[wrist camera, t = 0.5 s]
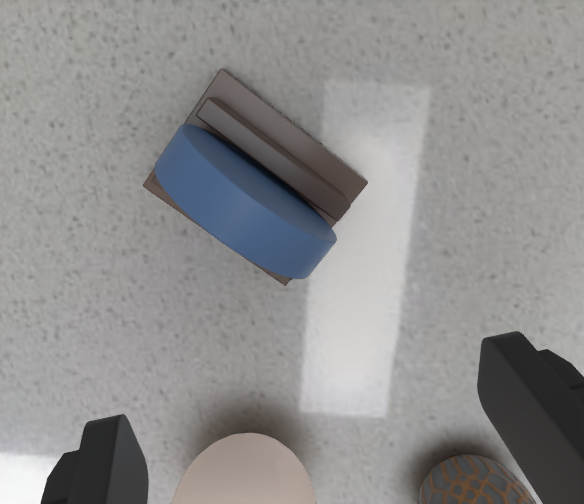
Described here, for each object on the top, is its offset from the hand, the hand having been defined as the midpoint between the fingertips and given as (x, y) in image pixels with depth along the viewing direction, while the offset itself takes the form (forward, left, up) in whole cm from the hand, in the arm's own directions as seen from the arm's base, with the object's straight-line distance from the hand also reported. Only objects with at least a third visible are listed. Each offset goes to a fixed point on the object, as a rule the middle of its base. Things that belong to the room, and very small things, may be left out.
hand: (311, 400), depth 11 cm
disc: (-1, -3, -12) cm, 12 cm away
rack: (-1, -3, -17) cm, 17 cm away
